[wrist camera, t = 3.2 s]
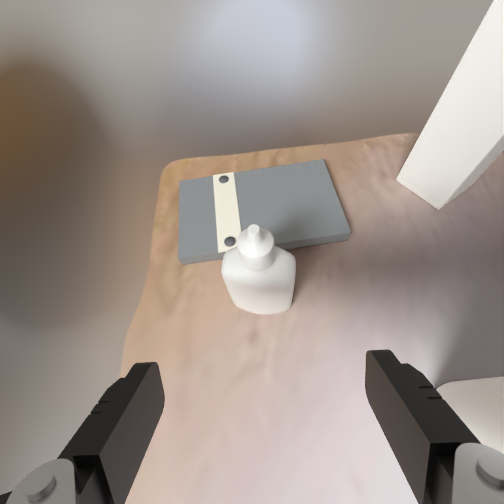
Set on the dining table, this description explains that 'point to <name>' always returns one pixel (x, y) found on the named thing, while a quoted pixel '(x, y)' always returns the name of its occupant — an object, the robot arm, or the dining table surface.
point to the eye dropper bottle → (259, 273)
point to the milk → (463, 121)
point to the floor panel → (259, 209)
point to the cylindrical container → (479, 407)
